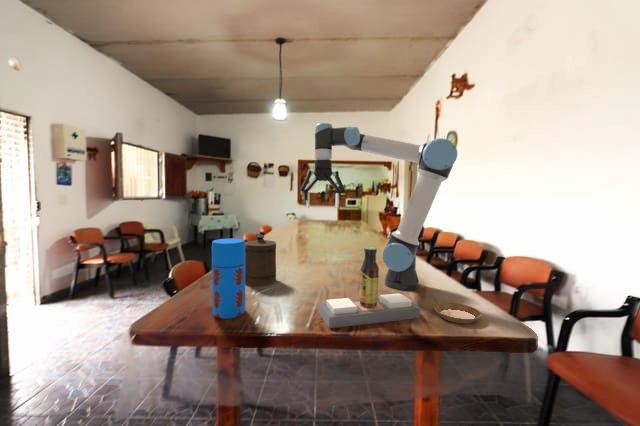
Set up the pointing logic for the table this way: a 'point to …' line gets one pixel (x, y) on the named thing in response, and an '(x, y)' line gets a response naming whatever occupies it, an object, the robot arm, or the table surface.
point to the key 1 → (341, 306)
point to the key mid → (363, 309)
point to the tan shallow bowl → (456, 306)
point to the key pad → (367, 315)
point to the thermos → (228, 278)
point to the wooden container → (260, 262)
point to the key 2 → (395, 301)
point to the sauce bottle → (369, 279)
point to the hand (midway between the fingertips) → (322, 207)
